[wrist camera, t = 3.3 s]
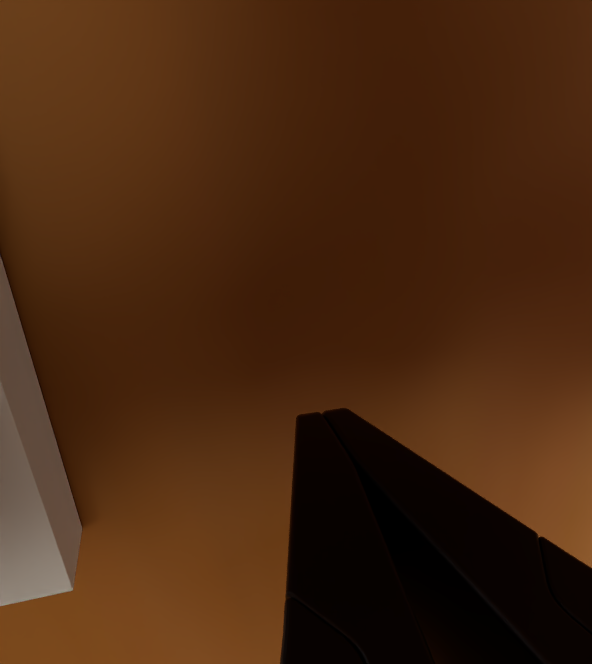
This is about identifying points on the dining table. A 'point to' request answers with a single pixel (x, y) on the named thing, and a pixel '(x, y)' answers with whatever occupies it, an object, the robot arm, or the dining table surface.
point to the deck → (30, 477)
